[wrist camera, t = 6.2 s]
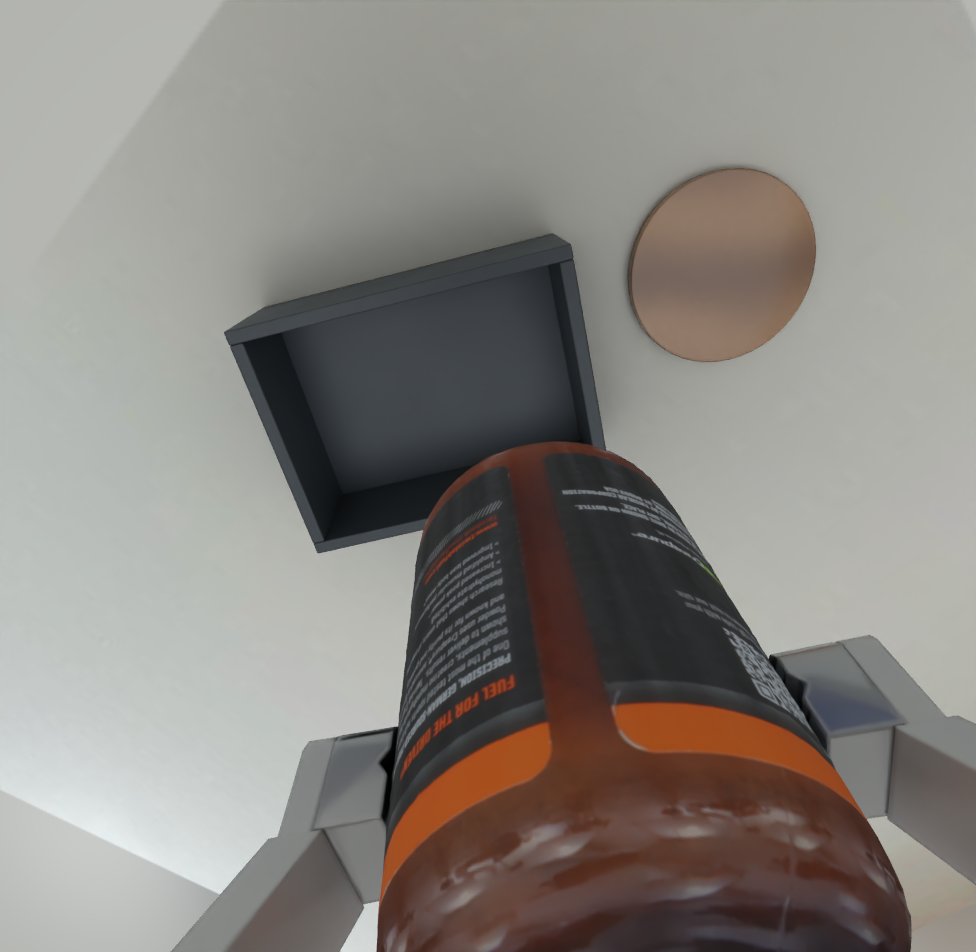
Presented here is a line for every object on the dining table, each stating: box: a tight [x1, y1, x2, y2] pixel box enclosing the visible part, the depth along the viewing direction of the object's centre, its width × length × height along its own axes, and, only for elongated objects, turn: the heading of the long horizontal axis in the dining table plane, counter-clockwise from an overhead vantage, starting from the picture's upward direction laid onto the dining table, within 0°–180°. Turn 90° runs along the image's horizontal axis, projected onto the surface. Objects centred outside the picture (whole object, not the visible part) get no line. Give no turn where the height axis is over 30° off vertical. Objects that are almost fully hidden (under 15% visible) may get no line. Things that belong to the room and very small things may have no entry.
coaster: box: [628, 168, 816, 362], centre depth 30 cm, size 9×9×1 cm
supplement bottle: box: [377, 442, 911, 952], centre depth 9 cm, size 6×6×11 cm
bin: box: [224, 234, 606, 553], centre depth 30 cm, size 11×15×6 cm
